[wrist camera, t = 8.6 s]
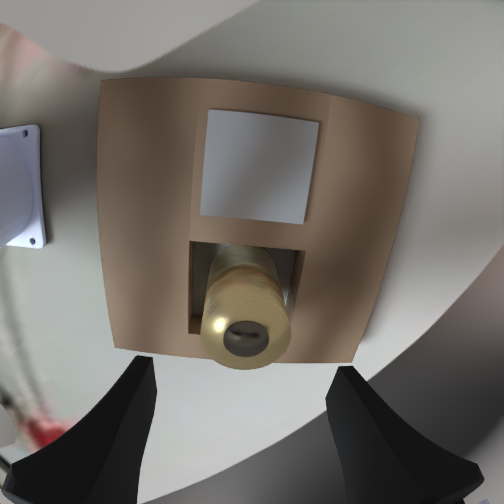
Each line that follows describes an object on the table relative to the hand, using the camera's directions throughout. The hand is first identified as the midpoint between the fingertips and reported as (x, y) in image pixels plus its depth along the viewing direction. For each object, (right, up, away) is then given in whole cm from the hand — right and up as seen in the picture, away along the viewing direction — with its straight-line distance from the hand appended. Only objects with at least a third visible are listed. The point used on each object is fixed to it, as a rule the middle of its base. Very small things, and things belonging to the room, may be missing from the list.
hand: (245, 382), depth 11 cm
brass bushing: (0, +4, +8) cm, 8 cm away
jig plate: (0, +6, +6) cm, 9 cm away
